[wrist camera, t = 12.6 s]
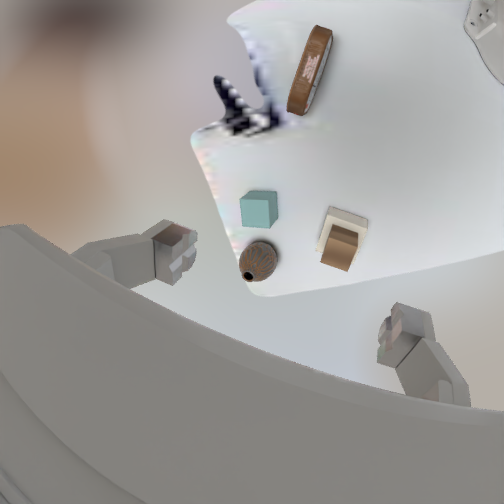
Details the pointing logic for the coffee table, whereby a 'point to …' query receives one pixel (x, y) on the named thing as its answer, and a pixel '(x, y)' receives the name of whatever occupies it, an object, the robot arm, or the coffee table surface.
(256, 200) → the teal cube
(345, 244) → the walnut block
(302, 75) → the tin
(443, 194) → the coffee table surface
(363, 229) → the limestone block
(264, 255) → the vase
